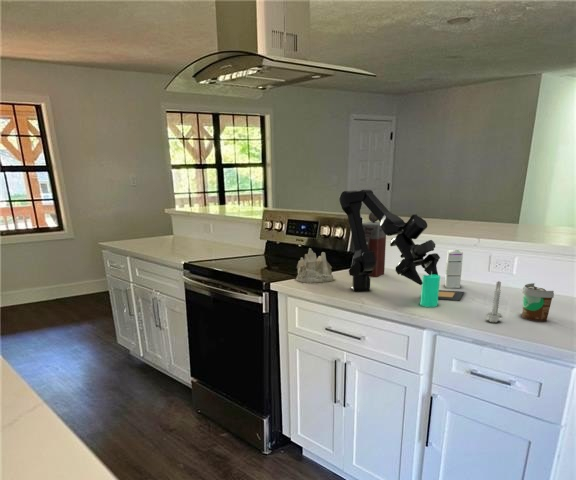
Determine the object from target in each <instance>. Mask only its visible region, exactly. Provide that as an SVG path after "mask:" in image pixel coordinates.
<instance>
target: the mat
mask: <svg viewBox="0 0 576 480" xmlns="http://www.w3.org/2000/svg"><path fill="white" fill-rule="evenodd" d="M464 294H465V291H458V290H443V289H439V294H438V301H440V300H441V301H454V302H460V301H461V299H462V297H463V295H464Z"/></svg>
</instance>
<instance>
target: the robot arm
mask: <svg viewBox="0 0 576 480" xmlns="http://www.w3.org/2000/svg"><path fill="white" fill-rule="evenodd" d="M338 199H339V200H338V201H339V205H340V206H341V209H342V211H343V212H344V213H345V214H346V216H347V219H348V224H349V229H350V232H351V237H352V242H353V246H354V255H353V259H352V260H353V264H352V265H351V266H350V268H349V269H348V274H349V276H351V277H352V284H351V289H352V291H353V292H369V291H370V290H371V278H370V277H369V274H372V273H373V270H374V267H375V265H376V263H375V261H376V259H375V254H374V251H370V250H369V249H368V247H367V243H366V238H365V234H364V229H363V225H362V223H363V220H362V216H361V209H362V207H363V204H364V205H365V206H366V207H367V209H368V210H369V211H370V213H371V212H372V213H373V214H374V215H375V216H376V218H377V219H378V220H377V221H378V222H380V226H381V228H382V230H383V232H384V233H385V234H386V237H391V236H395V237H394V238H391V240H390V244H389V246H390V247H397V249H398V251H399V252H400V253H401V254H400V255H399V257H400V259H401V260H400V261H399V263H398V264H397V265H396V266H395V273H396V274H397V276H399V275H400V276H402V277H404V278H407V279H408V280H410V281H412V282H414V283H416V284H418V285H419V286H422V284H423V282H422V279H421V277H420V275H419V273H418V271H417V267H419V266H420V267H421V268H422V269H423V271H424V272H425V273H426V274H427V275H431V272H432V274H433V275H439V273H438V267H437V265H438V262H439V260H440V259H441V257H440V255H439V254H438V253H435V252H433V251H435V248H436V243H435V241H434V240H432V239H428V240H426V241H425V242H422V243H421V244H419V243H417V244H416V243H415V242H414V240H418V238H419V237H420V236H421V235H422V233H424V232H425V230H426V229H427V228H428V222H427V221H426V220H425V219H423V218H422V217H421V216H419V215H418V214H416V213H414V214H412V215H411V216H410V217H409V219H408V220H407V221H406V222H405V221H404V219H402V218H401V217H400V216H399V215H397V214H394V213H392V212H391V211H390V210H388V209H389V208H387V207H386V206H385V205H384V204H383V202H381V200H380V199H379V198H378V197H377V196H376V195H375V193H374V191H373V190H372V189H361V190H344V191H342V192H341V193H340V196H339V198H338ZM430 252H433V253H430ZM427 253H429V254H428V255H427Z"/></svg>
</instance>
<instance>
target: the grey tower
mask: <svg viewBox="0 0 576 480" xmlns="http://www.w3.org/2000/svg"><path fill="white" fill-rule="evenodd" d="M463 255H464V252H463V250H462V249H449V250H447V254H446V264H445V265H446V267H445V277H444V286H445V288H446V289H460V288H461V283H462V281H461V280H462V270H463V269H462V268H463V258H464V256H463Z"/></svg>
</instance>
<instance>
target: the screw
mask: <svg viewBox="0 0 576 480" xmlns="http://www.w3.org/2000/svg"><path fill="white" fill-rule="evenodd" d="M495 283H496V284H495V285H496V286H495V289H494V294H493V295H494V296H493V300H492V301H493V302H492V308H491V312H488V313H486V315H485V316H486V317H487V318H488V322H490V323H499V319H501V318H503V314H502V313H499V306H500V299H501V296H500V295H501V285H502V282H501V281H500V280H498V281H496V282H495Z"/></svg>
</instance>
